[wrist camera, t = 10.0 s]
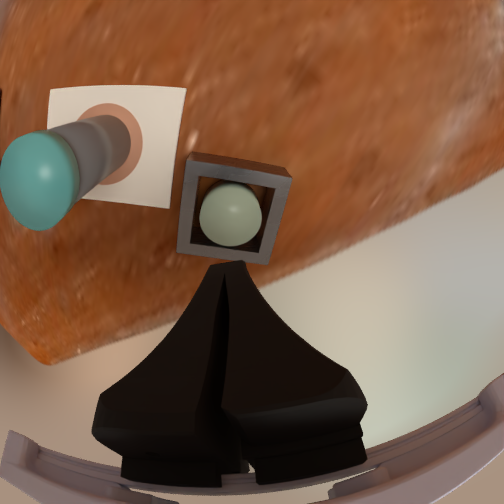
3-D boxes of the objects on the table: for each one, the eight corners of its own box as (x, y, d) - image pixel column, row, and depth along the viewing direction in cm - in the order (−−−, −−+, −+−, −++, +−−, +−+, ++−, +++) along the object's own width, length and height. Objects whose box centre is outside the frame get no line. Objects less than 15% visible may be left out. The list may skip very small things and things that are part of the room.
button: (199, 226, 18) (196, 241, 16) (206, 175, 16) (204, 185, 15) (252, 234, 19) (254, 250, 17) (263, 184, 17) (268, 195, 15)
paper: (50, 193, 16) (47, 195, 16) (52, 89, 12) (49, 89, 12) (170, 206, 18) (169, 209, 18) (187, 88, 14) (186, 88, 14)
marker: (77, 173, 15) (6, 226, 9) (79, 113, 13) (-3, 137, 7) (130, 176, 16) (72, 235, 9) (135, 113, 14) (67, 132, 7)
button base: (181, 234, 19) (176, 252, 17) (192, 151, 16) (186, 159, 14) (263, 246, 20) (267, 265, 18) (284, 167, 17) (292, 178, 15)
